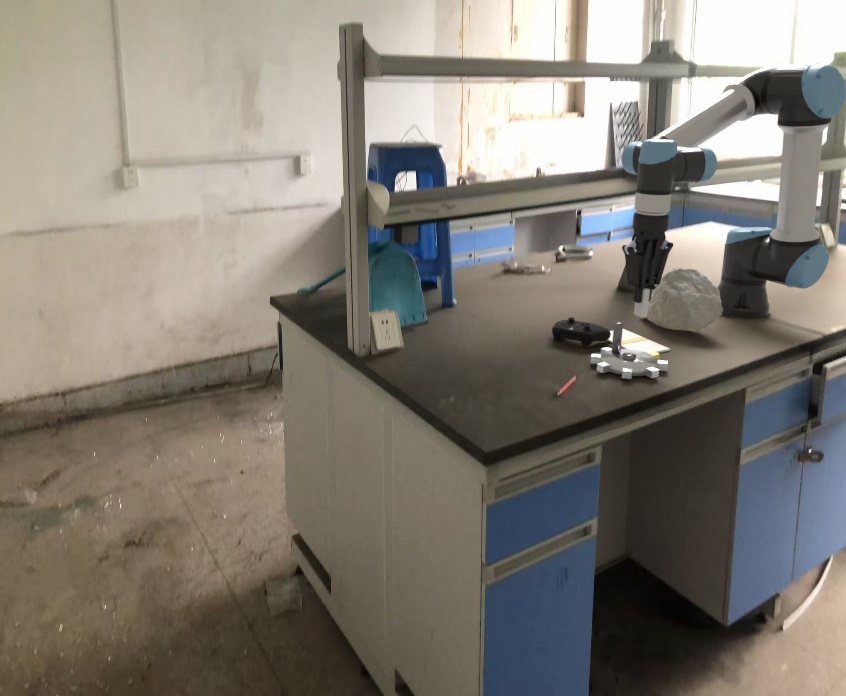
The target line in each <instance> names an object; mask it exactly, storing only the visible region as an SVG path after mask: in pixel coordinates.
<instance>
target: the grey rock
mask: <svg viewBox="0 0 846 696" xmlns="http://www.w3.org/2000/svg"><path fill="white" fill-rule="evenodd" d="M655 286H656V288H655V289H652V291H651V299H650V301H649V302H648V311H647V317H643V319H644V318H645V319H647V320H648V321H649V322H651V323H653V324H654V325H656V326H658V327H661V328H663V329H668V330H673V331H679V332H693V333H698V332H701V331H702V330H703V329H706V328H708V327H709V326H710V325H711V324H714V323H715V322H716V321H717V319H718V318H719V317H721V316H722V311H723V308H722V306H721V299H720V291H719V290H718V289H717V288H718V286H717V287H716V286H715V285H714V284H713V281H711V280H710V279H709V278H708V277H707V276H706V275H704V274H702V273H701V272H700V270H698V269H695V268H694V269H693V268H683V267H682V268H681V267H677V266H675V267H672V268H671V269H670V270H668V271H667V272H666V273H665V274H663V275H662V278H661V281H660V284H659V285H655Z"/></svg>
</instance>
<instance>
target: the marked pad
mask: <svg viewBox="0 0 846 696" xmlns="http://www.w3.org/2000/svg"><path fill="white" fill-rule="evenodd" d="M609 331H610V333H611V336H610V338H609V339H608V340H606V342H608V343H610V344H612V341H613V330H609ZM626 346H627V347H635V350H639V351H643V352H646V353H648V352H653V351H654V352H656V353H659V354H660V353H665V352H671V348H670V347H667V346H666V345H665V346H664V345H662V344H660V343H657V342H656V341H654V340H653V341H652V340H650V339H648V338H647V337H643V336H641V335H639V334H637V333H634V332H633V331H629V330H628V329H625V328H623V331H622V342H621V349H626Z"/></svg>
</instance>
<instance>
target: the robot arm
mask: <svg viewBox="0 0 846 696" xmlns="http://www.w3.org/2000/svg"><path fill="white" fill-rule="evenodd" d="M845 98H846V82H845V79H844V77H843V74H842V73H841V72H840V71H839V69H838V68H836V67H835V66H833V65H830V64H822V63H821V64H820V63H796V64H795V63H791V64H790V63H789V64H784V63H778V64H777V63H775V64H771V65H767V66H764V67H761V68H758V69H757V70H754V71H751V72H750V73H747V74H746V75H743V76H742V77H740V78H738V79H737V80H734V81H732V83H729V84H728V85H727V86H726V87H724V89H723V91H722V93H721V95H718V96H717V97H715V98H713V100H710V101H709V102H707V103H705V104H704V105H703V106H701V107H700V108H698V109H696V110H694V111H693V112H691V113H690V114H688V115H687V116H685V117H683V118H682V119H680V120H679V121H677V122H675V123H674V124H672V125H670V126H669V127H667V128H666V129H664V130H663V131H661V132H659V133H658V134H656V135H654V136H653V137H651V138H650V139H645V140H643V141H641V140H638V141H632V142H629V143H628V144H627V145H626V146H625V147H624V149H623V151H622V153H621V165H622V168H623V169H624V170H625V172H626V173H628V174H632V175H636V176H637V180H636V190H635V191H636V192H635V198H634V199H635V200H634V201H635V202H634V210H635V212H634V213H633V216H632V229H633V235H632V236H631V241H630V242H629V243H628V244H622V245H621V246H622V247H621V249H622V252H623V254H624V258H625V259H624V260H625V269H626V279H627V280H626V282H627V285H628V286H630V287H633V288H634V292H633V302H634V309H633V315H634V316H637V317H640V318H641V319H642V318H643V319H644V317H647V311H648V302H649V301H650V299H651V295H652V291H653V289H655V288H656V285H659V284H660V281H661V279H662V277H663V275H664V270H665V268H666V264H667V261H668V257H669V254H670V252H671V250H672V249H673V247H674V242H670V241H668V240H667V235H666V232H667V231H668V228H669V220H670V219H669V218H670V216H669V214H668V213H669V212H670V211H671V203H672V194H673V188H674V184H682V183H683V184H687V183H688V184H689V183H696V184H697V183H700V182H704V181H708V180H710V179H711V178H712V177H713V176H714V174H715V173H716V172H717V167H718V159H717V156H716V153H715V152H714V151H713V150H712V149H711V148H708V147H702V146H700V145H703V143H705V142H707V141H708V140H710V139H711V138H713V137H714V136H716V135H718V134H719V133H721V132H722V131H724V130H726V129H727V128H728V127H730V126H732V125H734V124H735V123H736V122H743V121H744V122H745V121H747V120H749V119H751V118H752V117H754V116H758V115H777V127H778V128H779V129H780V130H782V133H783V136H782V137H783V138H782V152H781V161H780V162H781V165H780V177H779V190H778V191H779V192H778V193H779V194H778V202H777V203H778V205H777V206H778V207H777V216H776V217H777V219H776V220H777V221H776V227H775V228H772V227H765V226H761V227H760V226H757V227H755V226H754V227H753V226H750V227H738V228H732V229H730V230H729V231H728V232H727V234H726V239H725V243H724V249H723V250H724V251H723V260H722V267H721V276H720V282H719V284H718V286H717V289H718V290H719V291H720V299H721V306H722V308H723V311H722V315H723V316H727V317H733V318H738V319H759V318H765V317H767V316H768V315H769V313H770V307H771V306H770V305H771V304H770V303H769V298H768V292H767V281H768V282H772V283H775V284H778V285H783V286H787V287H788V288H797V289H808V288H810V287H812V286H814V285H815V284H817V282H818V281H819V280H820V278H822V277H823V275H824V273H825V271H826V269H827V267H828V264H829V259H830V253H829V250H828V248H827V247H826V246H824V245H823V244H820V243H821V233H820V232H819V231H818V230H817V229H816V228H815V222H816V210H817V200H818V189H819V180H820V179H819V177H820V169H821V168H820V167H821V157H822V147H823V145H822V144H823V136H824V130H825V129H826V128H827V127H828V126H829V125H830V124H832V118H833V117H834V116H837V115H838V114H839V112H840V111H841V110H842V106H843V105H844V103H845V100H846V99H845ZM722 315H721V316H722Z"/></svg>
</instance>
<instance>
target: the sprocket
mask: <svg viewBox="0 0 846 696" xmlns="http://www.w3.org/2000/svg"><path fill="white" fill-rule="evenodd" d="M623 329H624V322H623V321H614V322H613V329H612V331H613V341H612V343H611V347H609V346H607V347H602V348H600V353H591V355H590V364H596V371H598V372H600V373H602V374H606V373H612V374H616V375H621V379H627V380H632V377H641V376H642V377H643V376H646V377H648V378H650V379H654V378H657V377H659V376H660V375H659V374H660V371H663V372H664V371H666V372H667V371H668V360H663V359H662V360H661V359H660V356H661V354H660V353H656V352H654V351H653V352H648V353H646V352H643V351H639V350H635V347H627V346H626V349H623V348H621V342H622V331H623Z"/></svg>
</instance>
